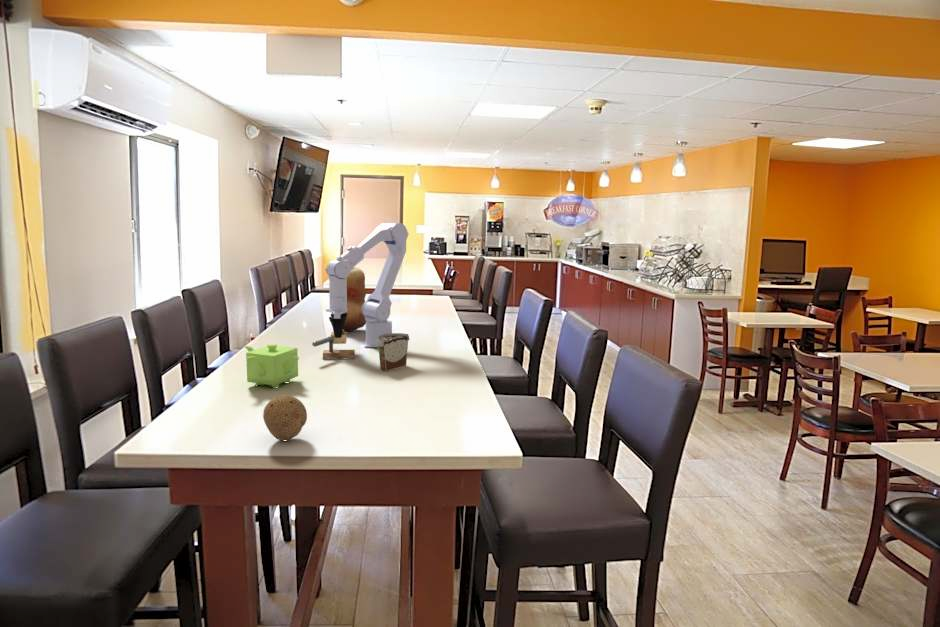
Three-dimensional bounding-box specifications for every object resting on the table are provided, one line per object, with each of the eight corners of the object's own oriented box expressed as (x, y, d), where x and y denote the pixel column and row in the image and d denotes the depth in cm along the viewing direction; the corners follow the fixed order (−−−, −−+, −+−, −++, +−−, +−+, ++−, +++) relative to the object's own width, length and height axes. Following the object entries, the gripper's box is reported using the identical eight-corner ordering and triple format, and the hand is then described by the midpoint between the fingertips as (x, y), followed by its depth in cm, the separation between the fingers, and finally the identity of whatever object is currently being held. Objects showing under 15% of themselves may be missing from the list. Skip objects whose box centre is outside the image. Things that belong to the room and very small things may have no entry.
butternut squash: (332, 335, 242) (331, 269, 237) (331, 328, 254) (330, 265, 250) (369, 334, 245) (369, 269, 240) (366, 327, 258) (366, 265, 253)
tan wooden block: (346, 340, 219) (346, 331, 218) (345, 343, 214) (345, 334, 213) (331, 340, 218) (331, 332, 218) (330, 343, 213) (330, 335, 213)
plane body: (355, 355, 212) (355, 339, 211) (354, 358, 207) (354, 342, 206) (323, 355, 210) (323, 339, 209) (322, 359, 205) (321, 343, 204)
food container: (394, 361, 205) (394, 331, 203) (409, 364, 201) (409, 333, 200) (367, 369, 195) (367, 337, 193) (382, 372, 191) (382, 340, 190)
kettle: (248, 393, 168) (246, 352, 166) (241, 380, 181) (239, 341, 179) (305, 387, 175) (304, 347, 173) (295, 374, 187) (293, 337, 185)
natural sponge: (280, 430, 143) (279, 387, 141) (315, 435, 140) (314, 391, 139) (255, 444, 134) (254, 398, 133) (292, 450, 132) (291, 403, 130)
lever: (316, 347, 198) (315, 342, 198) (310, 346, 199) (310, 341, 199) (335, 341, 208) (335, 336, 207) (330, 340, 208) (330, 335, 208)
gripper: (327, 292, 220) (328, 331, 222) (324, 299, 206) (324, 340, 208) (348, 293, 221) (348, 331, 223) (346, 299, 207) (346, 340, 209)
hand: (338, 335), depth 216 cm, fingers closed on tan wooden block, 5 cm apart
